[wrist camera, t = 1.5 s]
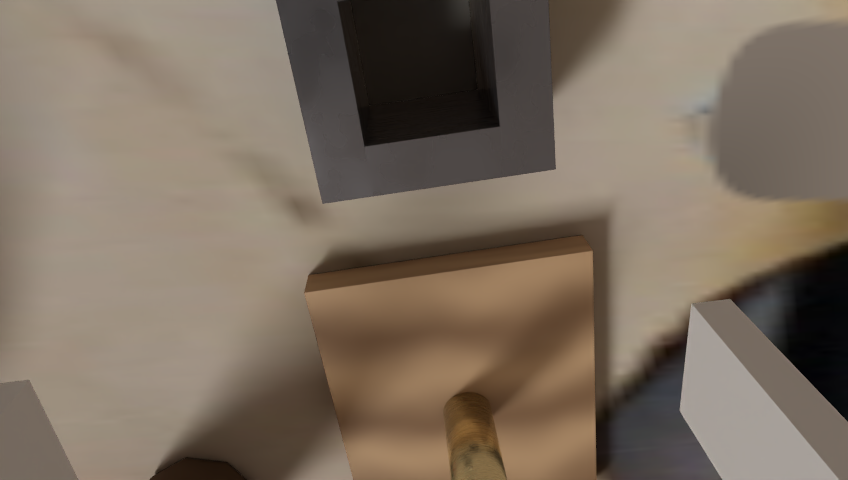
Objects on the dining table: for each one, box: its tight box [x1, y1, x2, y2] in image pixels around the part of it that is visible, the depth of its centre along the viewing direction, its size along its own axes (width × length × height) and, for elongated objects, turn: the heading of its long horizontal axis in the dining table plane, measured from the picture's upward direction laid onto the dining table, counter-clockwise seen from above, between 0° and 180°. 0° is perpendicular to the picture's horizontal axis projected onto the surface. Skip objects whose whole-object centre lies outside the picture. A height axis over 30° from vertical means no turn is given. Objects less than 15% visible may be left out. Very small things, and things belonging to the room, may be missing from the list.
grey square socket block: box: [276, 0, 556, 204], centre depth 27 cm, size 10×10×7 cm
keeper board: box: [304, 235, 596, 480], centre depth 39 cm, size 20×16×2 cm
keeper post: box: [443, 392, 507, 480], centre depth 34 cm, size 3×3×8 cm
